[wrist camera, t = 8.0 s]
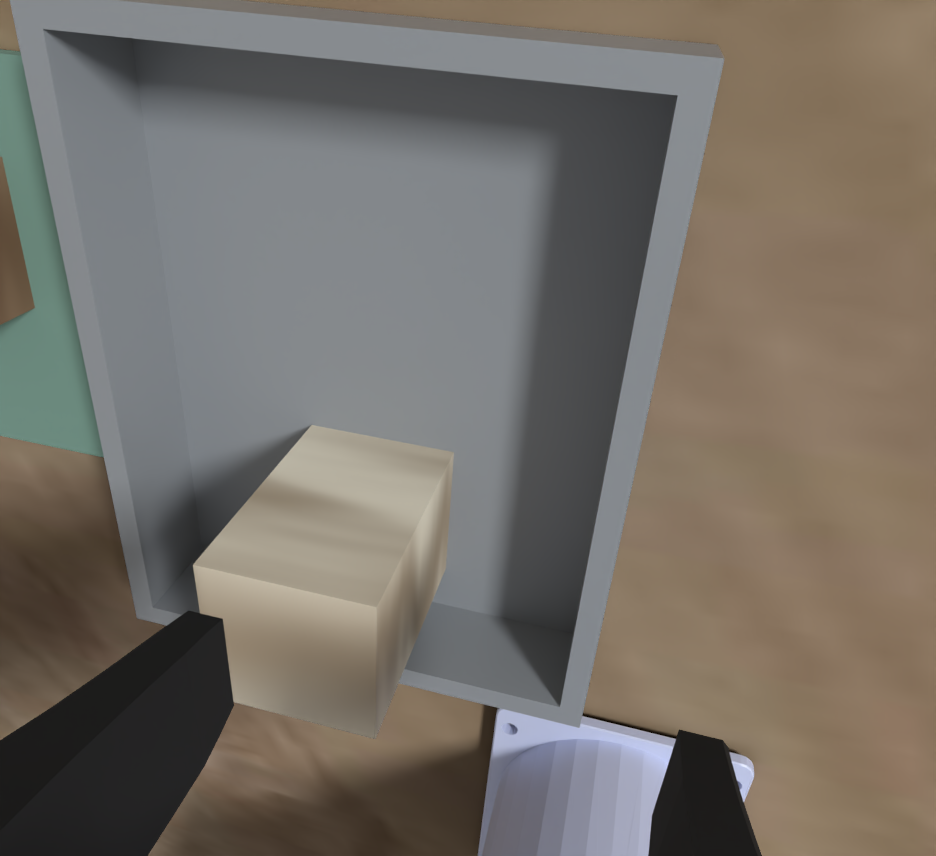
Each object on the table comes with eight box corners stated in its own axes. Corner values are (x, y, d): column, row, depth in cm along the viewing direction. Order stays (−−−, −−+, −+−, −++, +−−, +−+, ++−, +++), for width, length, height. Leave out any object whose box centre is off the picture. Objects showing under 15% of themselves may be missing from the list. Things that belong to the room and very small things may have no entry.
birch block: (445, 568, 22) (375, 738, 17) (316, 540, 23) (212, 696, 18) (453, 451, 20) (376, 607, 15) (311, 424, 21) (192, 564, 16)
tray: (592, 640, 23) (579, 727, 20) (195, 550, 25) (136, 618, 23) (717, 44, 15) (724, 58, 12) (114, -12, 17) (7, -11, 14)
